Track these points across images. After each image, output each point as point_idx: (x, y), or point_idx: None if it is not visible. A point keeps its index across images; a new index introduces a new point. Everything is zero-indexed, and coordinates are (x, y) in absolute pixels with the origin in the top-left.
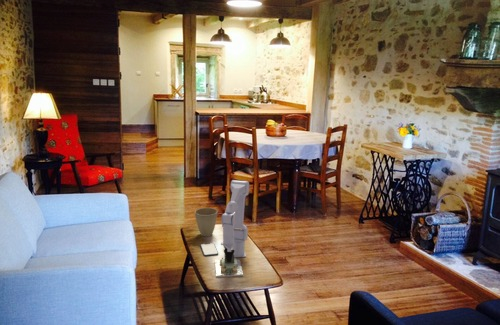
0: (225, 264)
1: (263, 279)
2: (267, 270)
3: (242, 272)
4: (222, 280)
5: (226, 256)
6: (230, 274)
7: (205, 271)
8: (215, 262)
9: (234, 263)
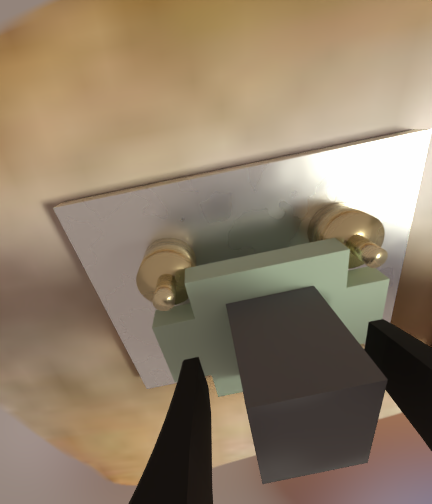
0: (200, 312)
1: (134, 450)
2: (239, 448)
3: (174, 382)
4: (26, 267)
5: (143, 479)
6: (120, 322)
7: (178, 32)
8: (380, 143)
9: (233, 376)
